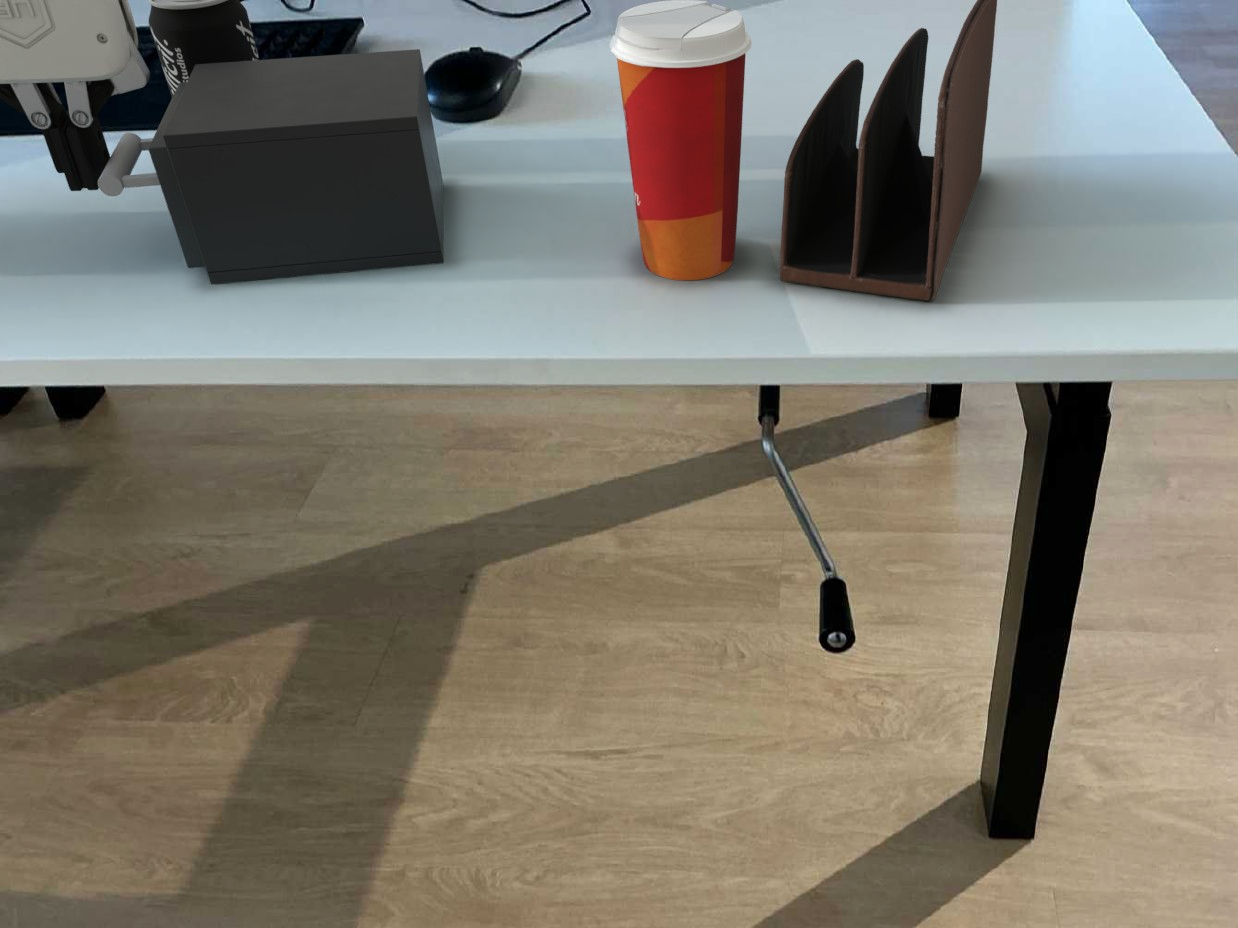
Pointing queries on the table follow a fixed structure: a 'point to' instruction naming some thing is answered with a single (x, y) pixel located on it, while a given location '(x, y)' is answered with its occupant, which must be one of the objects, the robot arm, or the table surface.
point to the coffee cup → (683, 130)
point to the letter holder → (888, 172)
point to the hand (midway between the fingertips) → (89, 181)
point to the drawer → (153, 179)
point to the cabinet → (309, 165)
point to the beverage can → (199, 35)
